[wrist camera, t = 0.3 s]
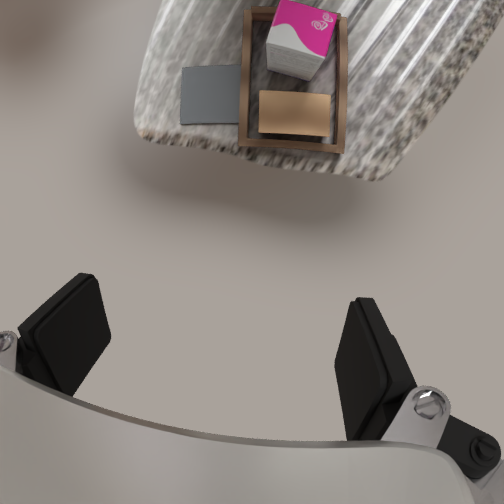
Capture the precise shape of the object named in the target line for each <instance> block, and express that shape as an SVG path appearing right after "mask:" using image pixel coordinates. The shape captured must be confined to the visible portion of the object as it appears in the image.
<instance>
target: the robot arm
mask: <svg viewBox="0 0 504 504" xmlns="http://www.w3.org/2000/svg"><path fill="white" fill-rule="evenodd" d="M18 330H19V333H20V335H21V337H20V338H19V339H18V337H17V335H16V334H15V333H14V332H12V331H3V332H0V504H504V460H501V458H500V457H501V449H500V446H499V444H498V442H497V441H496V439H495V438H494V437H492V436H491V435H489V434H486V433H485V432H483V431H481V430H479V429H477V428H475V427H473V426H471V425H469V424H467V423H465V422H463V421H461V420H459V419H457V418H455V417H453V416H451V415H450V411H451V405H450V401H449V399H448V398H447V396H446V395H445V394H444V393H443V392H442V391H440V390H438V389H437V388H434V387H431V386H420V387H417V384H416V382H415V380H414V377H413V375H412V373H411V371H410V368H409V366H408V364H407V362H406V360H405V357H404V355H403V353H402V351H401V349H400V347H399V345H398V343H397V340H396V338H395V337H394V335H392V334H391V333H390V331H389V329H388V327H387V325H386V323H385V321H384V319H383V317H382V315H381V313H380V311H379V309H378V307H377V305H376V303H375V301H374V299H373V298H361V297H358V298H356V300H355V301H351V302H350V305H349V309H348V313H347V317H346V321H345V325H344V329H343V333H342V337H341V340H340V344H339V348H338V351H337V354H336V358H335V372H336V378H337V383H338V389H339V395H340V400H341V406H342V412H343V418H344V425H345V431H346V438H347V441H285V440H267V439H253V438H242V437H234V436H225V435H218V434H211V433H205V432H199V431H193V430H187V429H182V428H177V427H172V426H167V425H163V424H158V423H154V422H150V421H146V420H143V419H138V418H135V417H131V416H128V415H124V414H120V413H118V412H114V411H111V410H108V409H104V408H101V407H99V406H96V405H93V404H90V403H87V402H84V401H82V400H79V399H76V398H73V395H74V394H75V392H76V391H77V389H78V388H79V386H80V384H81V383H82V382H83V380H84V379H85V377H86V376H87V374H88V373H89V371H90V370H91V368H92V367H93V365H94V364H95V362H96V361H97V360H98V358H99V357H100V355H101V354H102V353H103V351H104V349H105V348H106V347H107V345H108V344H109V343H110V340H111V332H110V329H109V325H108V321H107V317H106V313H105V309H104V305H103V301H102V297H101V293H100V288H99V283H98V280H97V279H96V278H95V277H94V275H92V274H86V273H79V274H78V275H76V276H75V277H74V278H73V279H71V280H70V281H69V282H68V283H67V284H66V285H64V286H63V287H62V288H61V289H60V290H59V291H57V292H56V293H55V294H54V295H53V296H52V297H50V298H49V299H48V300H47V301H46V302H45V303H44V304H42V305H41V306H40V307H39V308H38V309H37V310H36V311H35V312H34V313H33V314H31V315H30V316H29V317H28V318H27V319H26V320H25V321H24V322H23V323H22V324H21V325H20V326H19V327H18Z"/></svg>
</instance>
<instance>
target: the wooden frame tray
mask: <svg viewBox="0 0 504 504" xmlns="http://www.w3.org/2000/svg"><path fill="white" fill-rule="evenodd" d="M276 10H277V7H261V6H251V10H244V20H243V39H242V59H241V81H240V106H239V133H238V146H252V147H273V148H289V149H302V150H313V151H323V152H332V153H341V154H344V147H345V132H346V113H347V82H348V41H347V18H346V17H341V14H340V13H334V12H331V13H334V14H336V15H337V19H336V23H335V26H334V27H336V28H337V83H336V112H335V132H334V145H332V144H323V143H313V142H302V141H290V140H274V139H252V138H248V129H249V103H250V78H251V55H252V32H253V21H273V19H274V16H275V13H276Z"/></svg>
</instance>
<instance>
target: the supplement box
mask: <svg viewBox="0 0 504 504" xmlns="http://www.w3.org/2000/svg"><path fill="white" fill-rule="evenodd" d="M336 19H337V15H336V14H334V13H331V12H328V11H324V10H321V9H317V8H314V7H311V6H307V5H304V4H300V3H297V2H293V1H289V0H280V2H279V5H278V7H277V10H276V13H275V16H274V19H273V22H272V25H271V28H270V31H269V34H268V37H267V40H266V52H267V70H269V71H273V72H277V73H281V74H284V75H288V76H291V77H295V78H298V79H301V80H304V81H308V82H309V81H310V80H311V79H312V77H313V76H314V74H315V73H316V71H317V70H318V68H319V67H320V66H321V64H322V62H323V61H324V60H325V58H326V55H327V51H328V48H329V44H330V41H331V37H332V34H333V30H334V26H335V23H336Z"/></svg>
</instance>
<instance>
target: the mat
mask: <svg viewBox="0 0 504 504" xmlns="http://www.w3.org/2000/svg"><path fill="white" fill-rule="evenodd" d="M240 81H241V65H215V66H198V67H185V68H182V84H181V107H180V124H193V123H239V106H240Z"/></svg>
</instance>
